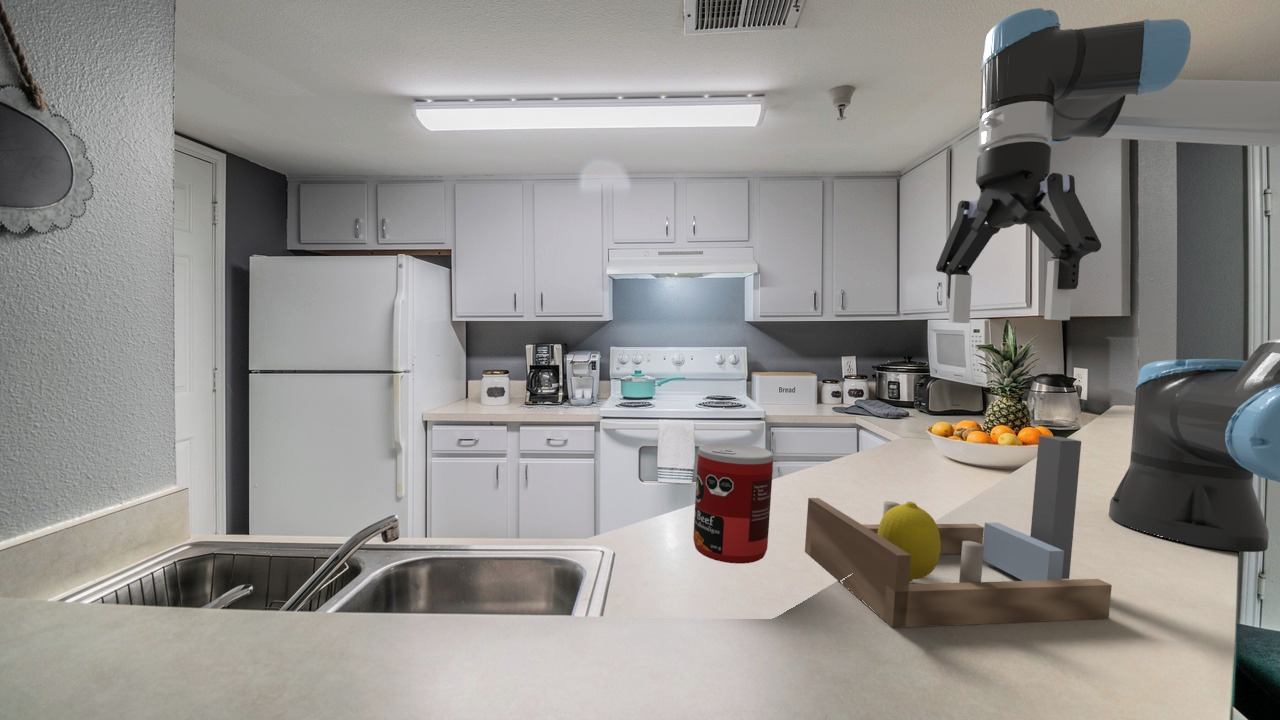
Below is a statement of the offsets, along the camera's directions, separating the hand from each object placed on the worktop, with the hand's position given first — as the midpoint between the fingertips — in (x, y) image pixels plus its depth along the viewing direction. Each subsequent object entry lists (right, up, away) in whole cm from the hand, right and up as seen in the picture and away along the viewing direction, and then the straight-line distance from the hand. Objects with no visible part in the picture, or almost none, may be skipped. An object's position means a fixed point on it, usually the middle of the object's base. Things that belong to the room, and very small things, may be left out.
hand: (1003, 321), depth 67 cm
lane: (-16, -27, -14) cm, 34 cm away
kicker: (-5, -27, -12) cm, 30 cm away
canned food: (-36, -26, -9) cm, 45 cm away
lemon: (-20, -27, -15) cm, 36 cm away
